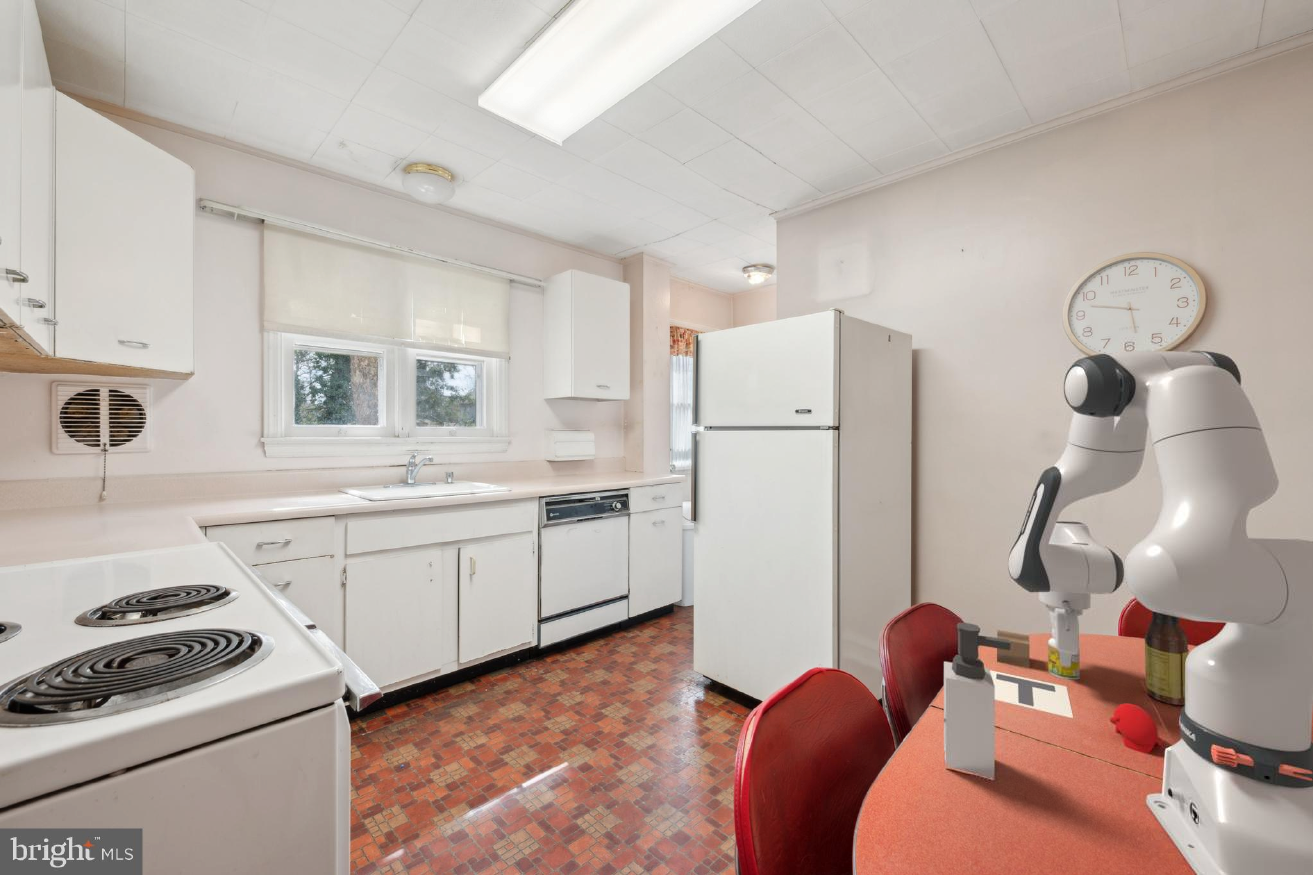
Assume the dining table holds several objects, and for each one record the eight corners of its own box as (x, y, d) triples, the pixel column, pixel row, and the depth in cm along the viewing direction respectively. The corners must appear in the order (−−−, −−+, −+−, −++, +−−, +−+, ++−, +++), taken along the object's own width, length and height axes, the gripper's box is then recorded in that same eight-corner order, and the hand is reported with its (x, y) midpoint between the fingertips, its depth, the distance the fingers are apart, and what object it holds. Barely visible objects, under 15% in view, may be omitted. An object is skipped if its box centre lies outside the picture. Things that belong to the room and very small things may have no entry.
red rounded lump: (1104, 707, 94) (1100, 700, 91) (1147, 705, 91) (1144, 698, 88) (1125, 759, 90) (1121, 754, 86) (1170, 759, 86) (1169, 754, 83)
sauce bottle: (1170, 691, 106) (1171, 594, 106) (1199, 708, 100) (1200, 604, 99) (1135, 690, 107) (1136, 593, 106) (1162, 706, 100) (1163, 603, 100)
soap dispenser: (1012, 785, 79) (1013, 639, 78) (945, 768, 83) (946, 630, 82) (1006, 760, 85) (1006, 625, 84) (943, 746, 88) (944, 616, 88)
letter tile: (1073, 721, 96) (1073, 718, 96) (982, 699, 103) (982, 696, 103) (1066, 689, 107) (1066, 686, 107) (985, 672, 115) (985, 669, 115)
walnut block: (1029, 671, 116) (1029, 644, 115) (996, 664, 119) (997, 638, 119) (1028, 661, 120) (1028, 635, 120) (997, 655, 124) (997, 629, 124)
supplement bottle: (1084, 683, 110) (1084, 638, 109) (1053, 679, 111) (1053, 634, 111) (1073, 672, 115) (1073, 628, 114) (1044, 668, 116) (1044, 625, 116)
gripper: (1088, 612, 102) (1088, 682, 103) (1077, 585, 119) (1077, 646, 120) (1048, 606, 106) (1048, 674, 106) (1043, 581, 123) (1043, 640, 123)
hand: (1063, 659), depth 113 cm, fingers closed on supplement bottle, 5 cm apart
